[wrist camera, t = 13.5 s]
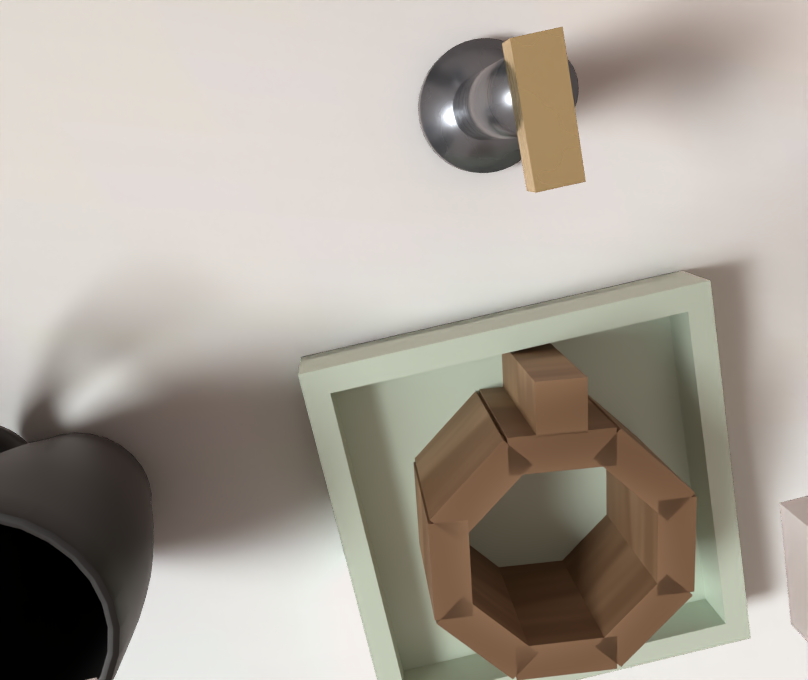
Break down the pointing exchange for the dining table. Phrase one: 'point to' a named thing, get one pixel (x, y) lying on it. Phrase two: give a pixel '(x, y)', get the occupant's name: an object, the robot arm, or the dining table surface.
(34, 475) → the mug
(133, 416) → the dining table surface
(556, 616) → the ring
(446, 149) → the door handle
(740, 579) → the tray
